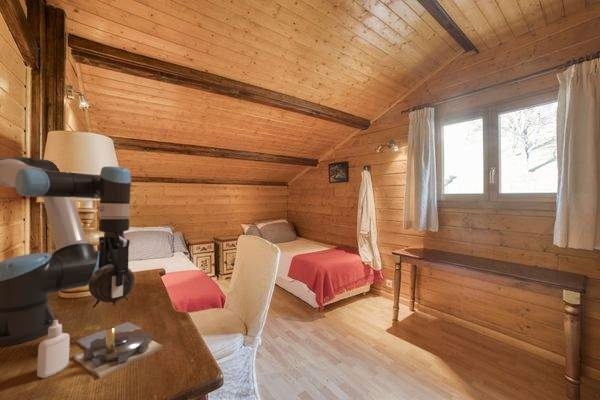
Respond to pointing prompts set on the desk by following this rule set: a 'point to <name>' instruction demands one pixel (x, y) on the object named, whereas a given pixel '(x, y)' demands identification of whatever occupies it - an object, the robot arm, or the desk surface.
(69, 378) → the desk surface
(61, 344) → the eye dropper bottle
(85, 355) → the sprocket
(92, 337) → the pad
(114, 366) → the plate
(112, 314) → the desk surface
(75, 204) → the robot arm
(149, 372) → the desk surface
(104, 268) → the alarm clock
